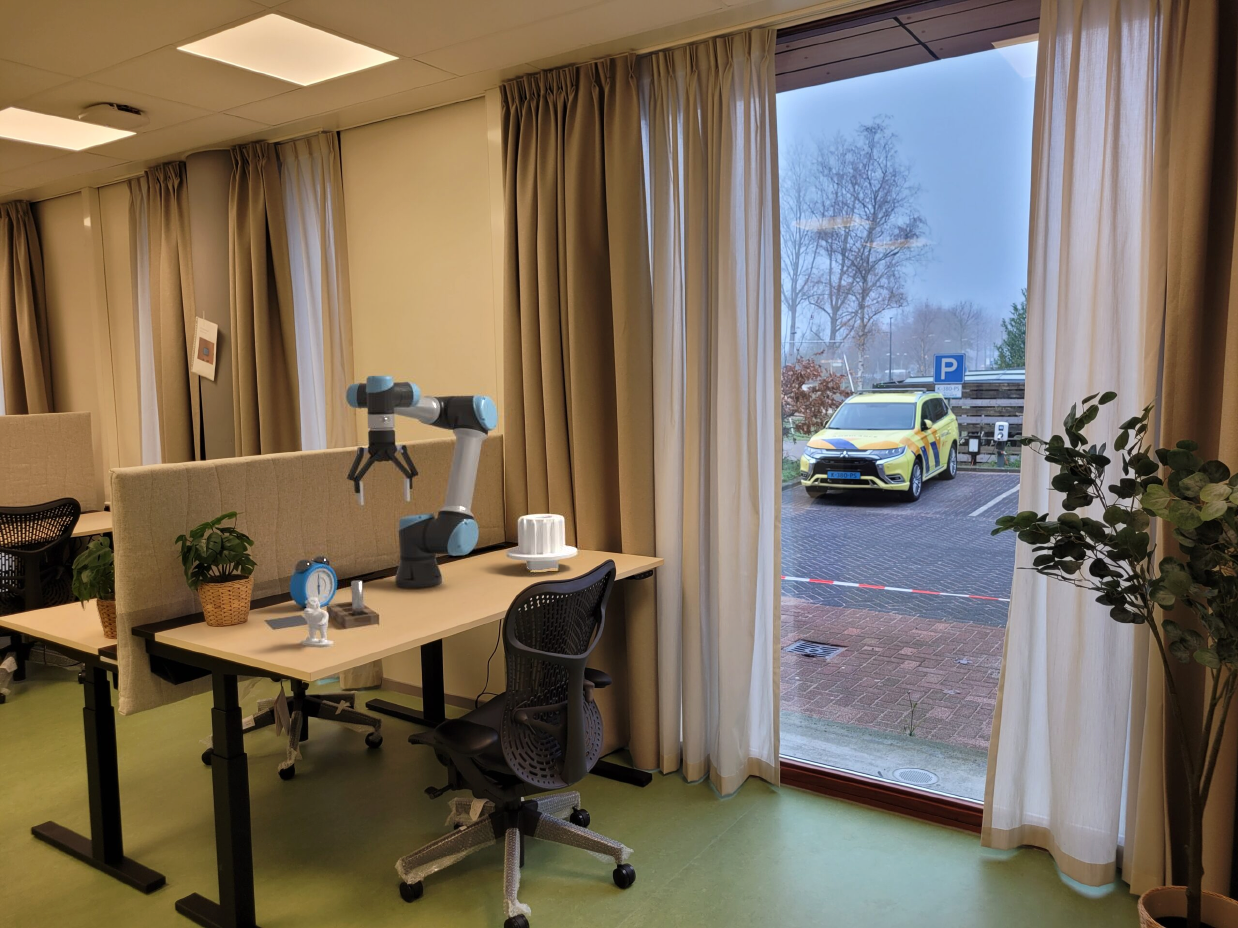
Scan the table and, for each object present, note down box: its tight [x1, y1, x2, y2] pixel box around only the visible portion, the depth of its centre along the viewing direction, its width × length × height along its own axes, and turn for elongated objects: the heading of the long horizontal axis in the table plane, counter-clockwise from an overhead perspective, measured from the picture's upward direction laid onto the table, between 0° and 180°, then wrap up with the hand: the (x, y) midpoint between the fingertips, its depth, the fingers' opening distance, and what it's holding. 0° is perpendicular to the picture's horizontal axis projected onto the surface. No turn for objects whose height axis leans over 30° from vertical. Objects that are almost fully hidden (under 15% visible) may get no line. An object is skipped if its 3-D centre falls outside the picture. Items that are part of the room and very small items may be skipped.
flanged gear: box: [505, 513, 578, 571], centre depth 320 cm, size 25×25×19 cm
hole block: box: [325, 600, 380, 630], centre depth 254 cm, size 20×9×3 cm, turn 32°
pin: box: [350, 579, 365, 617], centre depth 249 cm, size 3×3×12 cm
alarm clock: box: [289, 555, 338, 608], centre depth 270 cm, size 13×6×15 cm, turn 150°
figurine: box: [300, 597, 334, 648], centre depth 230 cm, size 9×7×12 cm
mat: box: [264, 614, 309, 631], centre depth 252 cm, size 12×10×1 cm
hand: (384, 502), depth 262 cm, fingers open, 13 cm apart
